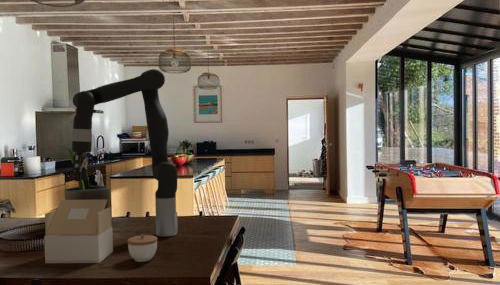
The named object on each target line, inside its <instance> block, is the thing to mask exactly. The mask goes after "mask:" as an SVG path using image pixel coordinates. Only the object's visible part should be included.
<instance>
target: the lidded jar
mask: <svg viewBox="0 0 500 285" xmlns="http://www.w3.org/2000/svg"><path fill="white" fill-rule="evenodd" d="M157 248H158V236H157V235H152V234H151V235H150V234H147V235H146V234H144V233H141V234H140V235H134V236H132V237H130V238H128V239H127V249H128V250H127V251H128V253H129V256H130V257H131V258H132V259H133V260H134V261H135V262H138V263H139V262H140V263H142V262H143V263H144V262H147V261H148V262H149V261H151V260H152V258H153V257H154V256H155V255H156V252H157V250H158V249H157Z"/></svg>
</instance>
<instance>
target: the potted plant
mask: <svg viewBox="0 0 500 285" xmlns="http://www.w3.org/2000/svg"><path fill="white" fill-rule="evenodd" d="M67 150H68V155H69V157H70V161H71V163H72V164H73V158H74V157H73V156H74V155H76V154H77V152H72V149H70V148H67ZM81 171H82V170H81ZM88 174H89V172H87V171H86V179H85V180H81V181H77V183H78V186H76V187H70V188H66V189H64V193H63V194H64V200H105V199H107V203H106V205H105V208H104V209H106V208H108V207H110V200H111V199H110V197H111V186H106V185H90V181H89V177H88V176H89V175H88Z"/></svg>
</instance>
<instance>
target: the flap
mask: <svg viewBox="0 0 500 285" xmlns="http://www.w3.org/2000/svg"><path fill="white" fill-rule="evenodd" d="M106 203H107V199H105V200H65V199H61V200H60V202H59V205H58V207H57V208H56V209H57V211H56V213H55V215H54V218H53V220H52V222H51V224H50V226H49V229H48V231H47V233H46V232H45V235H46V234H47V235H80V234H96V231H97V213H98V212H100V211H102V210H104V208H105V205H106Z"/></svg>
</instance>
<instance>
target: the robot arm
mask: <svg viewBox="0 0 500 285" xmlns="http://www.w3.org/2000/svg"><path fill="white" fill-rule="evenodd" d="M165 77H166V76H165V75H164V73H163V72H162V71H160V70H159V69H155V68H153V69H148V70H145V71H142V73H140V75H138V76H135V77H132V78H128V79H125V80H121V81H119V80H118V81H116V82H111V83H108V84H104V85H100V86H99V87H95V88H93V89H92V88H91V89H88V90H82V91H79V92H77V93H75V94H74V95H73V97H72V104H73V105H74V106H75V108H76V109H75V110H76V111H75V115H74V117H73V125H72V128H73V129H72V134H71V151H72V153H75V152H76V153H77V154H76V155H75V154H74V156H73V157H74V158H73V163H72V171H73V172H74V182H78V181H81V180H85V179H86V172H87V171H88V169H89V154H87V153H92V149H93V148H92V143H93V131H92V129H93V126H92V125H93V117H94V116H93V115H94V109H95V106H97V105H99V104H104V103H105V104H106V103H109V102H112V101H116V100H118V99H122V98H125V97H127V96H129V95H132V94H133V95H134V94H135V93H141V95H142V99H143V105H144V111H145V112H144V114H145V119H146V128H147V129H146V130H147V134H148V140H149V141H148V142H149V148H150V151H151V152H150V155H151V169H152V173H151V174H152V176H153V177H154V179H155V180H156V181H157V190H156V191H155V193H154V195H155V197H154V199H155V201H154V202H155V204H154V205H155V232H156V233H155V236H156V237H173V236H176V235H177V234H178V230H179V229H178V228H179V227H178V212H177V200H176V196H177V190H178V169H177V167H176V166H175V164H173V163H171V162H169V158H168V152H167V151H168V150H167V149H168V148H167V147H168V143H169V141H168V140H169V134H170V133H169V132H170V131H169V124H168V119H167V115H166V112H165V111H164V109H163V107H162V105H161V102H160V96H159V89H162V87H164V84H165V82H166V78H165ZM81 170H82V171H81Z"/></svg>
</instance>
